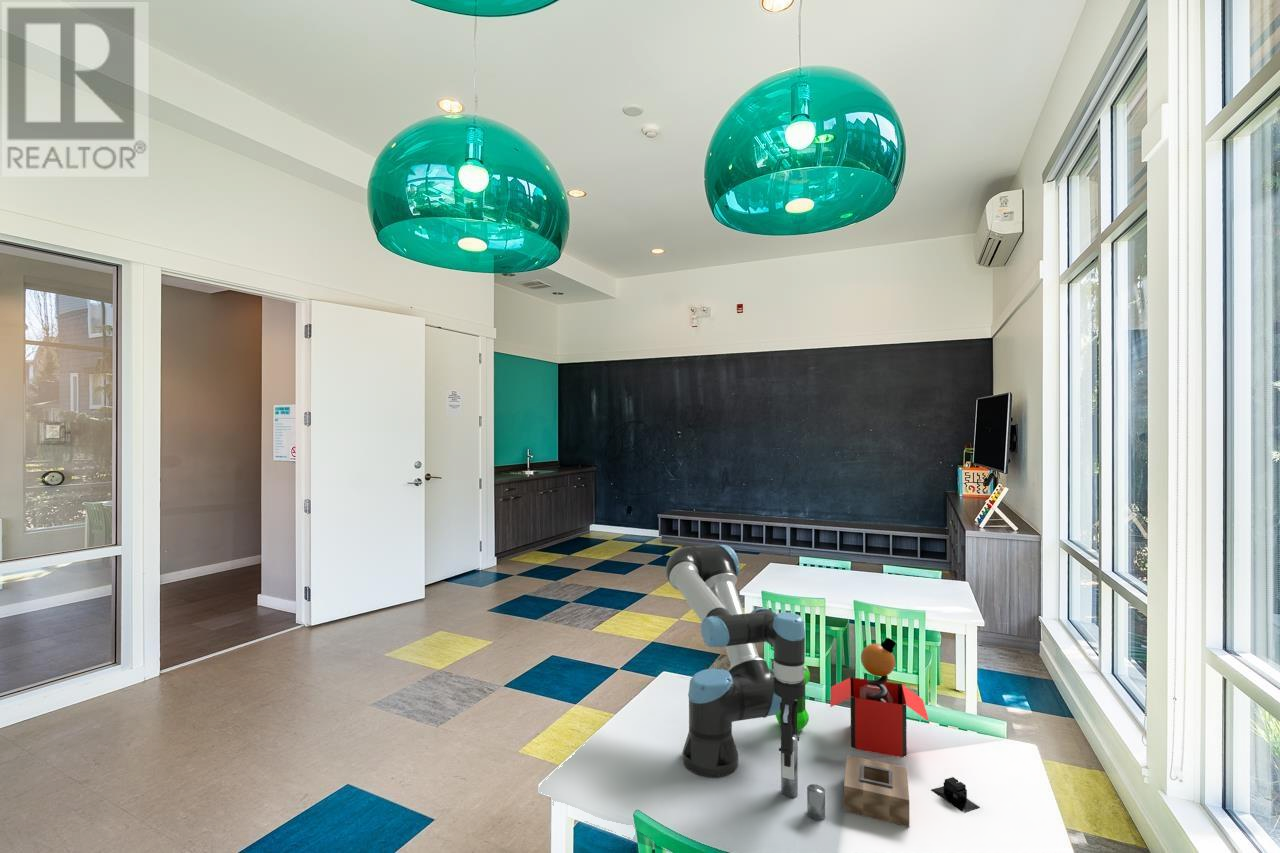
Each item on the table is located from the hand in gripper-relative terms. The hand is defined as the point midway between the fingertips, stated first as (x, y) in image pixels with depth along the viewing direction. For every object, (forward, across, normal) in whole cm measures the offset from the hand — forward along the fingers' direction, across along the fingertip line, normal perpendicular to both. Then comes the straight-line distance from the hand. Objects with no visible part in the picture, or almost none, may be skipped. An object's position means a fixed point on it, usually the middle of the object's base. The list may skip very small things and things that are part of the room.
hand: (789, 772), depth 143 cm
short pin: (+5, -6, -7) cm, 11 cm away
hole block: (+5, +5, -20) cm, 21 cm away
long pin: (+5, 0, 0) cm, 5 cm away
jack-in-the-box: (+5, +36, -20) cm, 42 cm away
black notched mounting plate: (+6, +14, -38) cm, 41 cm away
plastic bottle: (+5, +33, +4) cm, 34 cm away
